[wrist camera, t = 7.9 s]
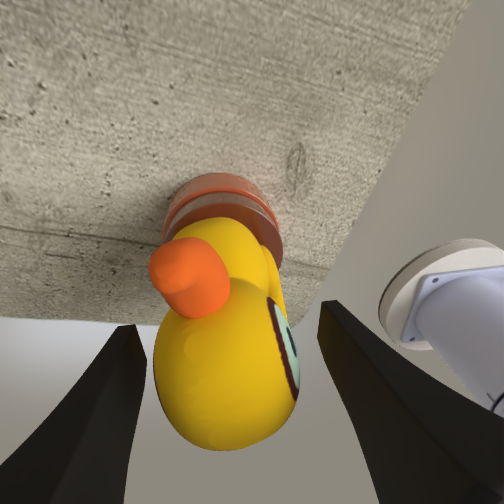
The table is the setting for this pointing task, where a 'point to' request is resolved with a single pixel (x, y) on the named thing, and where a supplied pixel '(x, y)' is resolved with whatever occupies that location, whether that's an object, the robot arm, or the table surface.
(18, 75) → the table surface
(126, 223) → the table surface
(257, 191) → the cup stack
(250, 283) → the duckling
